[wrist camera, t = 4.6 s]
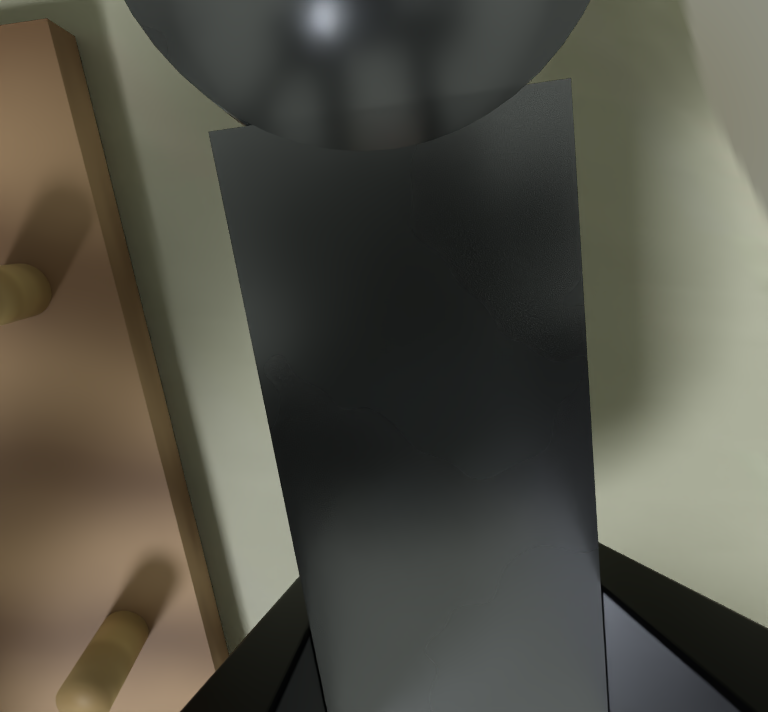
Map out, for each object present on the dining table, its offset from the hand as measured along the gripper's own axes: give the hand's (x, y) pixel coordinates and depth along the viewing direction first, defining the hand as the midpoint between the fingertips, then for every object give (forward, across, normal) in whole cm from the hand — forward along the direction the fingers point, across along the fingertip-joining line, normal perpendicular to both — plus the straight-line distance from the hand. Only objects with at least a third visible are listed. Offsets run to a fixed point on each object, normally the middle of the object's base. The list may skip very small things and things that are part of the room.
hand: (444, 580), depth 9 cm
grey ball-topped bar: (+1, 0, 0) cm, 1 cm away
